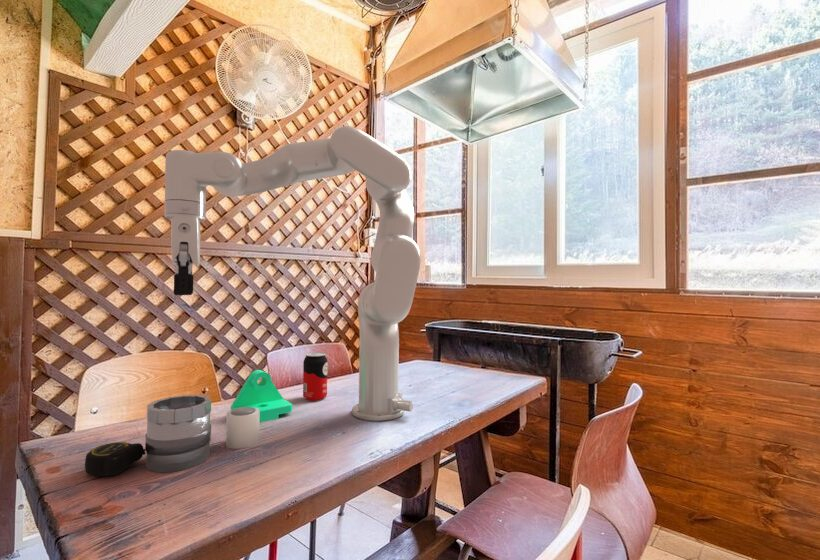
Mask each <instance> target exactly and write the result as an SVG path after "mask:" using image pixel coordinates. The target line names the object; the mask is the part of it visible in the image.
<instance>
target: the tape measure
mask: <svg viewBox="0 0 820 560" xmlns="http://www.w3.org/2000/svg"><path fill="white" fill-rule="evenodd" d="M144 455H146V451H145V448H144V446H143V444H142V443H140V442H139V443H129V442H126V441H123V442H122V441H120V442H119V441H118V442H117V441H116V442H110V443H105V444H102V445H99V446H97V447H94V448H93V449H91V450H90V451H88V452H87V453H86V455H85V460H84V470H85V473H86V474H87V475H88V476H91V477H104V476H113V475H116V474H120V473H121V472H123V471H124V470H126V469H127V468H129V467H130V466H132V465H133V464H135V463H137V462H138V461H140V460H141V459H142V458H143V456H144Z"/></svg>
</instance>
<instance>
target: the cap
mask: <svg viewBox="0 0 820 560" xmlns="http://www.w3.org/2000/svg"><path fill="white" fill-rule="evenodd" d="M225 416H226V420H225V421H226V422H225V423H226V424H225V427H226V428H225V429H226V430H225V431H226V432H225V434H226V435H225V446H226V448H228V449H230V450H231V449H233V450H240V449H249V448H251V447H254V446H256V445H257V444H259V442H260V423H261V422H260V410H259V409H258V408H254V407H241V408H236V409H233V410H231V409H230V410H229V411H227V412H226V415H225Z"/></svg>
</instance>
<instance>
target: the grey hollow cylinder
mask: <svg viewBox="0 0 820 560" xmlns="http://www.w3.org/2000/svg"><path fill="white" fill-rule="evenodd" d="M211 411H212V399H211V398H210V396H208V395H203V394H182V395H176V396H168V397H164V398H160V399H157V400H154V401H152V402H150V403H149V404H147V405H146V421H147V423H146V424H147V425H146V433H145V437H144V438H145V441H144V442H145V443H144V445H145V447H144V449H145V453H146V464H145V465H146V469H147V470H148V471H151V472H153V473H154V472H155V473H174V472H179V471H185V470H189V469H191V468H195V467H197V466H199V465H201V464H203V463H205V462H206V461H207V460H208V459H209V458H210V454H211V453H210V445H211V444H210V442H211V441H212V424H211Z"/></svg>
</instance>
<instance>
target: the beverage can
mask: <svg viewBox="0 0 820 560" xmlns="http://www.w3.org/2000/svg"><path fill="white" fill-rule="evenodd" d="M302 363H303V366H302V367H303V370H302V371H303V372H302V373H303V376H302V377H303V378H302V386H303V388H302V396H303V398H304V399H305V400H306V401H310V402H319V401H323V400H324V399H325V398H326V397H327V396H328V358H327V357H326V353H325V352H317V351H316V352H309V353H306V354H305V357H304V359H303V362H302Z"/></svg>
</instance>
